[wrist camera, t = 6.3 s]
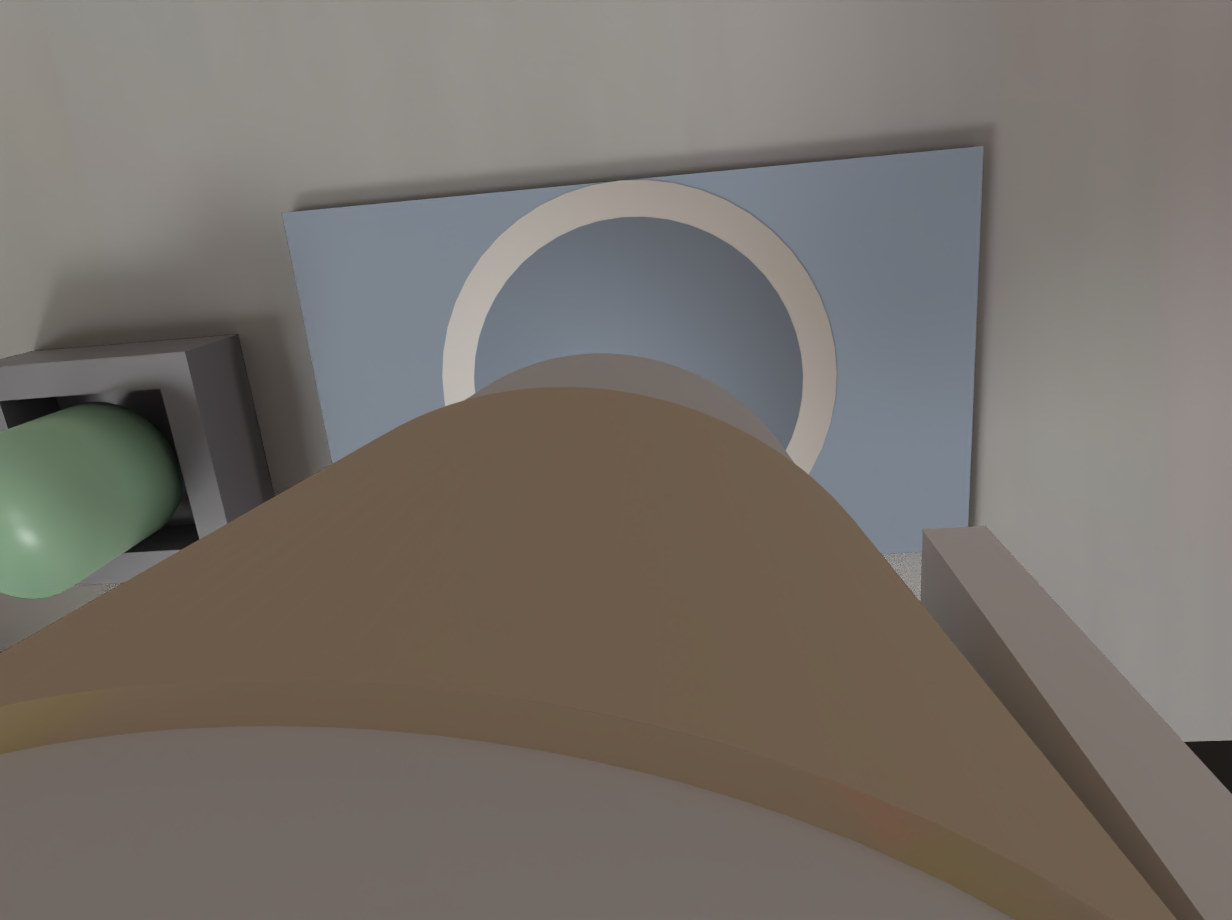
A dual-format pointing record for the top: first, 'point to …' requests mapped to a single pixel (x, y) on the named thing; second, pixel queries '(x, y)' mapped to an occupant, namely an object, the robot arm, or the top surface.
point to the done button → (79, 494)
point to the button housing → (159, 425)
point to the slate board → (682, 309)
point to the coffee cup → (535, 697)
